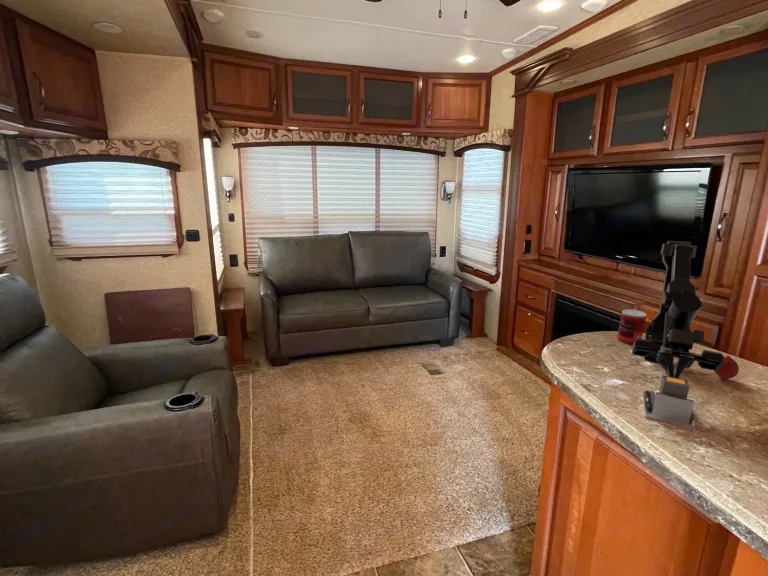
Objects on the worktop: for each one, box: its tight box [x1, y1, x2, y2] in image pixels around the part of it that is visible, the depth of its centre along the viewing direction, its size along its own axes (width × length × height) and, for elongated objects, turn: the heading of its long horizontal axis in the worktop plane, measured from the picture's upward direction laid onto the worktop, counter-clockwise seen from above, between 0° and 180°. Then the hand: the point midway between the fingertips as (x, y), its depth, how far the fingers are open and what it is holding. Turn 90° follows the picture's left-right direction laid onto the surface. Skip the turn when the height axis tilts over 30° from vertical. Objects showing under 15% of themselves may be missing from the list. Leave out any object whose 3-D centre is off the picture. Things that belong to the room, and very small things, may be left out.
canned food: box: [617, 308, 647, 345], centre depth 145 cm, size 8×8×11 cm
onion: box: [713, 353, 740, 381], centre depth 117 cm, size 6×6×8 cm
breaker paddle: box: [658, 375, 690, 399], centre depth 98 cm, size 4×5×9 cm
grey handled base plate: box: [642, 390, 696, 431], centre depth 100 cm, size 12×10×7 cm
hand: (672, 384), depth 99 cm, fingers closed, pressing on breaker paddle
